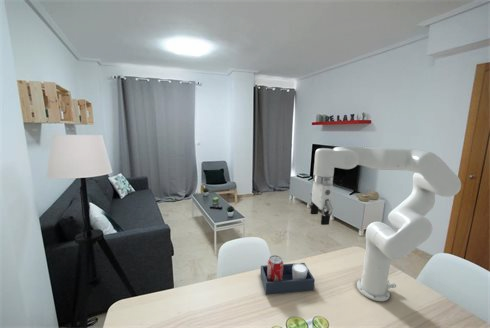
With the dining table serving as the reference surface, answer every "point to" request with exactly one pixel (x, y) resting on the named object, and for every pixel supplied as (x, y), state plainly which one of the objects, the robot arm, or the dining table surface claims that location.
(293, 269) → the white cylinder
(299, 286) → the bin
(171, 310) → the dining table surface
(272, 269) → the soda can
